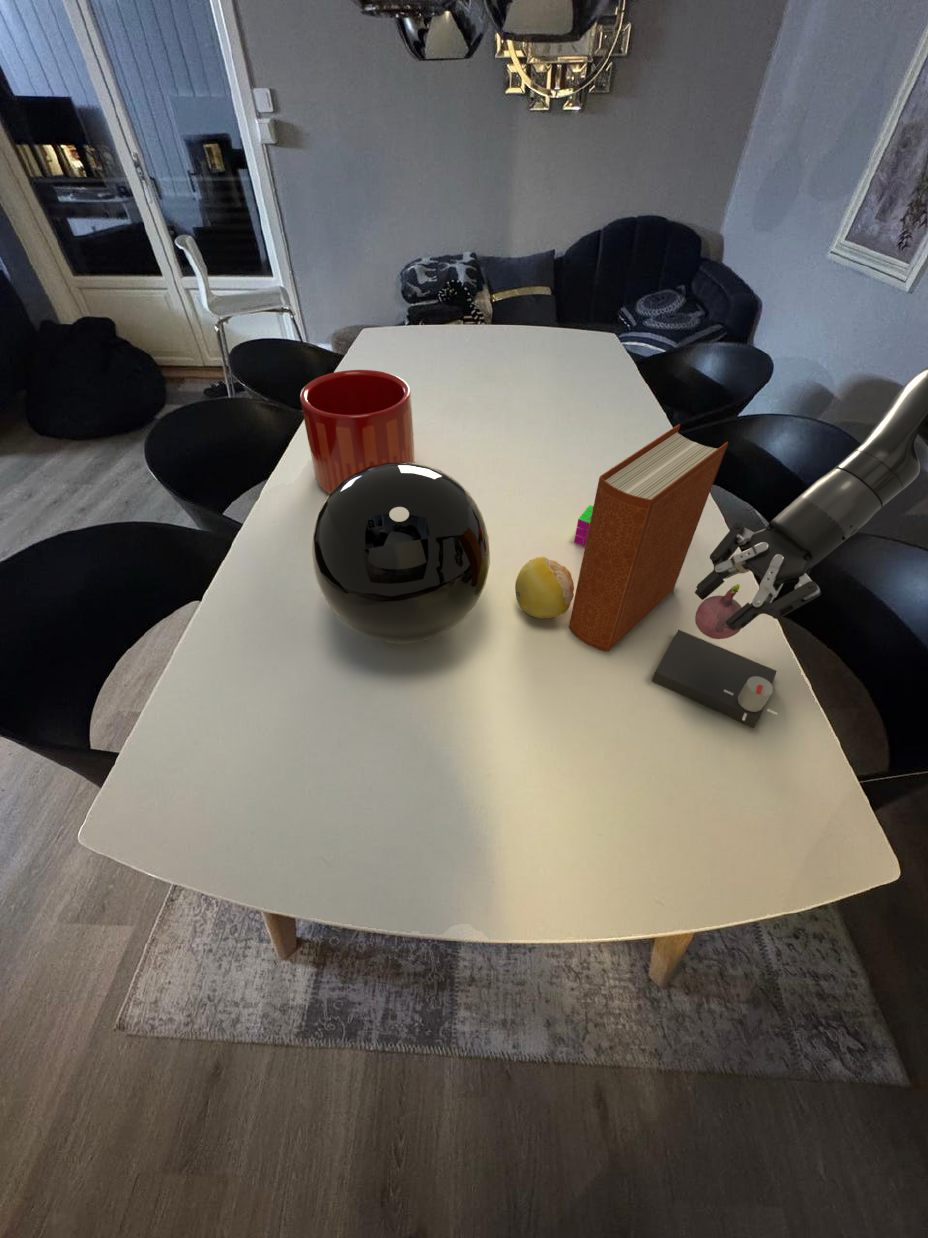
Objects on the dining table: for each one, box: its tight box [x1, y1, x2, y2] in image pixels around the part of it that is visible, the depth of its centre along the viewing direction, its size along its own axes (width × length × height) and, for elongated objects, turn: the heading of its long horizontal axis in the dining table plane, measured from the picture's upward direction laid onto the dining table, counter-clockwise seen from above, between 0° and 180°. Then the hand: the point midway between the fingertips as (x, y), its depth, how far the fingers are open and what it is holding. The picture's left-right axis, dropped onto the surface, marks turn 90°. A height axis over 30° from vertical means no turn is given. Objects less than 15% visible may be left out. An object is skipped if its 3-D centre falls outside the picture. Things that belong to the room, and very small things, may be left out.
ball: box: [311, 462, 491, 644], centre depth 91 cm, size 28×28×28 cm
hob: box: [651, 629, 778, 729], centre depth 89 cm, size 18×13×3 cm
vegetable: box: [694, 583, 743, 640], centre depth 75 cm, size 6×6×10 cm
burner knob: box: [738, 676, 774, 712], centre depth 84 cm, size 4×4×4 cm
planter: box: [299, 369, 416, 494], centre depth 126 cm, size 23×23×20 cm
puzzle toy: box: [573, 504, 594, 547], centre depth 115 cm, size 6×6×6 cm
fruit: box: [514, 556, 575, 619], centre depth 99 cm, size 10×11×10 cm
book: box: [568, 423, 729, 653], centre depth 92 cm, size 23×8×30 cm, turn 136°
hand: (713, 610), depth 74 cm, fingers closed on vegetable, 5 cm apart
